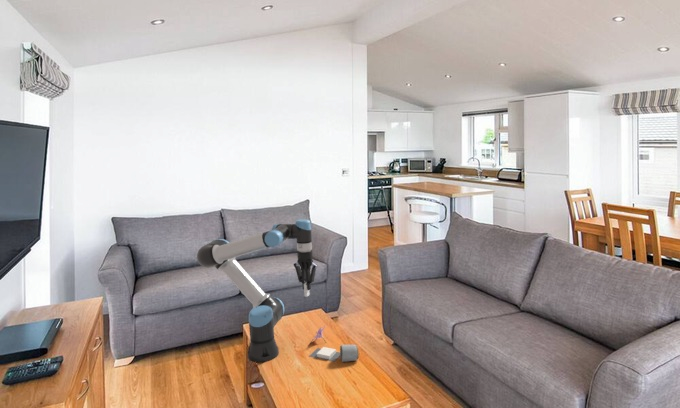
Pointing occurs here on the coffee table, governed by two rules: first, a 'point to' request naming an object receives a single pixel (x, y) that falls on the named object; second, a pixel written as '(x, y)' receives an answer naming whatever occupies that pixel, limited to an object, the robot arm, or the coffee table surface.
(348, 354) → the ceramic mug
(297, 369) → the coffee table surface
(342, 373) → the coffee table surface
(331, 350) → the tile
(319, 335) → the lily
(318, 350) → the mat
